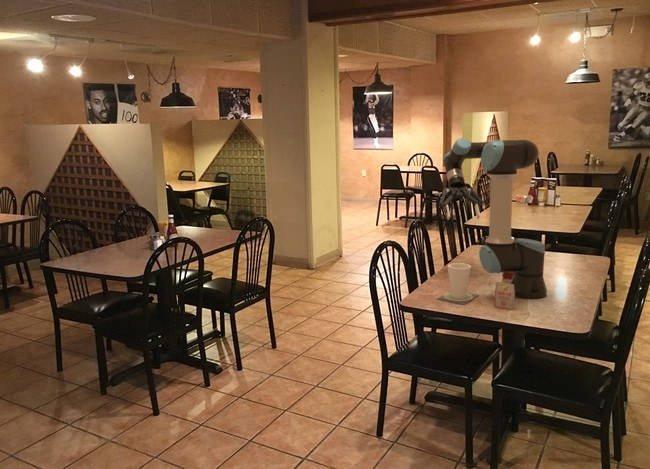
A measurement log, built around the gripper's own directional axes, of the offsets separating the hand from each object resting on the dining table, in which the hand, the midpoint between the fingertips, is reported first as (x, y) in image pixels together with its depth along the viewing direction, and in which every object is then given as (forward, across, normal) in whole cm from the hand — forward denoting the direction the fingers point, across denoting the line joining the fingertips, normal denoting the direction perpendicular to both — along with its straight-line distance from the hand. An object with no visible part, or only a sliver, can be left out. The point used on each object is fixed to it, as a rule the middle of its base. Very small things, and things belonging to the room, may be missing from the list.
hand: (463, 217), depth 257 cm
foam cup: (+38, +8, -3) cm, 39 cm away
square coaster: (+38, +8, -3) cm, 39 cm away
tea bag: (+48, -7, +6) cm, 49 cm away
